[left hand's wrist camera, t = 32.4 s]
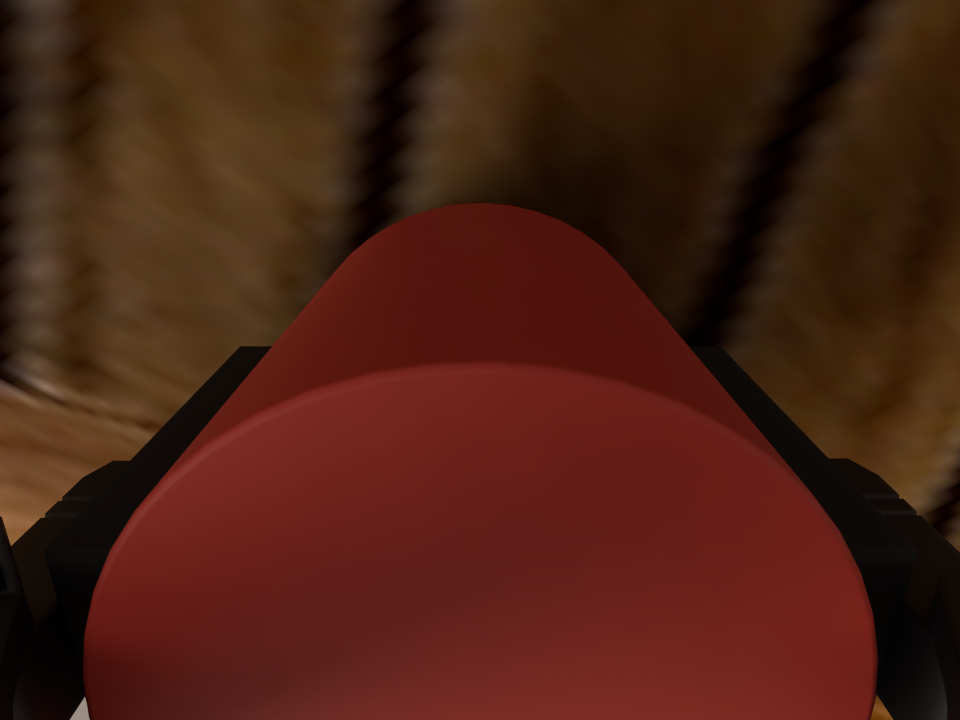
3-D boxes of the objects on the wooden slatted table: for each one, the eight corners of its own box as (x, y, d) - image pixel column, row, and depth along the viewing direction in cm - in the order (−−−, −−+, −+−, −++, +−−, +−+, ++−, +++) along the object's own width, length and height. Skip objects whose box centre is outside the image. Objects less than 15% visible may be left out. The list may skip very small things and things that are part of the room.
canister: (230, 312, 15) (-103, 597, 6) (564, 129, 13) (708, 183, 5) (415, 577, 17) (354, 1031, 9) (710, 447, 16) (968, 838, 8)
